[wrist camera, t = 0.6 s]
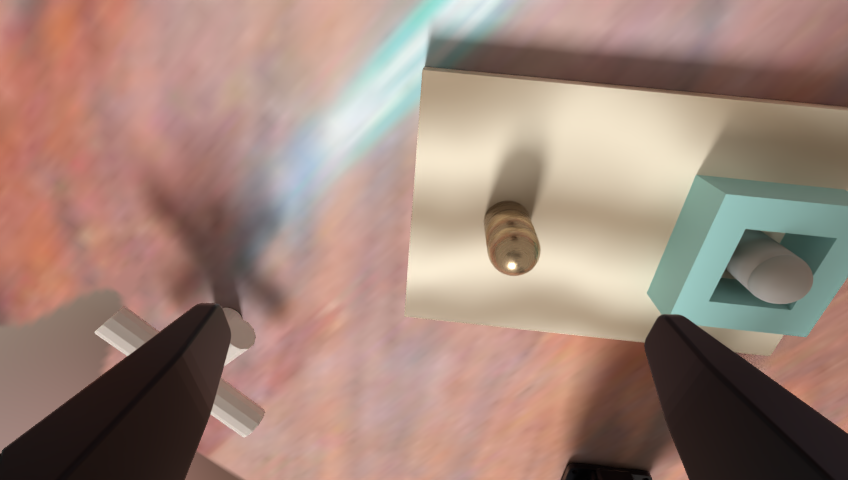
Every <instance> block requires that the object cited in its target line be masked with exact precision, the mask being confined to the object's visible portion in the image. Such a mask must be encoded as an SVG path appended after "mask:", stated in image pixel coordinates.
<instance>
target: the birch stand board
mask: <svg viewBox="0 0 848 480" xmlns="http://www.w3.org/2000/svg"><path fill="white" fill-rule="evenodd" d="M696 175H704V176H714V177H724V178H734V179H744V180H754V181H764V182H774V183H784V184H794V185H804V186H814V187H824V188H834V189H844V190H846V191H848V107H843V106H832V105H822V104H811V103H801V102H790V101H780V100H769V99H759V98H748V97H738V96H728V95H717V94H707V93H696V92H686V91H675V90H665V89H654V88H644V87H633V86H623V85H612V84H602V83H591V82H581V81H570V80H560V79H550V78H539V77H529V76H518V75H508V74H497V73H487V72H476V71H466V70H455V69H445V68H434V67H424V69H423V71H422V84H421V98H420V111H419V125H418V138H417V152H416V165H415V178H414V192H413V205H412V219H411V232H410V246H409V259H408V272H407V286H406V299H405V313H404V317H413V318H422V319H431V320H440V321H449V322H459V323H468V324H477V325H486V326H496V327H505V328H514V329H523V330H533V331H542V332H551V333H560V334H569V335H579V336H588V337H597V338H606V339H616V340H625V341H634V342H643V343H645V339H646V337H647V335H648V333H649V331H650V330H651V328H652V326H653V324H654V323H655V321H656V319H657V317H658V316H660V315H661V313H660V312H659V310H658V309H657V307H656V306H655V305H654V303H653V302H652V300H651V299H650V297H649V296H648V295H647V291H648V289H649V287H650V284H651V282H652V279H653V277H654V275H655V272H656V270H657V267H658V265H659V263H660V260H661V258H662V255H663V253H664V251H665V248H666V246H667V243H668V241H669V238H670V236H671V234H672V231H673V229H674V226H675V224H676V222H677V219H678V217H679V214H680V212H681V210H682V207H683V205H684V202H685V200H686V198H687V195H688V193H689V190H690V188H691V186H692V183H693V181H694V178H695V176H696ZM502 201H514V202H517V203H520V204H521V205H523V206H524V207H525V208H526V210H527V211H528V213H529V216H530V218H531V221H532V224H533V226H534V229H535V232H536V234H537V237H538V240H539V243H540V247H541V253H540V258H539V260H538V262H537V264H536V265H535V267H534V268H533V269H532V270H531V271H529V272H528V273H526V274H523V275H519V276H509V275H505V274H503V273H501V272H499V271H498V270H496V269H495V268H494V267H493V265H492V264H491V262H490V260H489V257H488V253H487V245H486V238H485V231H484V217H485V214H486V212H487V211H488V210H489V209H490V208H491V207H492V206H493V205H495V204H496V203H499V202H502ZM784 235H785V233H781V232H771V231H761V230H751V229H745V231H744V233H743V235H742V237H741V239H740V241H739V243H738V245H737V247H736V249H735V251H734V253H733V255H732V257H731V259H730V261H729V263H728V265H727V267H726V269H725V271H724V272H723V274H722V276H721V278H729V279H737V280H738V281H739V282H740V283H741V284H742V285H743V286H744V287H745V288H747V289H748V290H749V291H750V292H751V293H752V294H753V295H754V296H756V297H757V298H759V299H761V300H763V301H765V302H769V303H773V304H788V303H792V302H795V301H798V300H800V299H801V298H803V297H804V296H805V295H806V294H807V293H808V292H809V291H810V289H811V287H812V285H813V274H812V271H811V269H810V267H809V266H808V264H807V263H806V262H805V261H804V260H802V259H801V258H800V257H798V256H797V255H795V254H794V253H792V252H791V251H789V250H788V249H787V248H785V247H784V246H782V245H781V244H780V242H781V240H782V239H783V237H784ZM697 326H698V325H697ZM699 327H700V328H701V329H703V330H704V331H706V332H707V333H708V334H710V335H711V336H713V337H714V338H715V339H717V340H718V341H720V342H721V343H722V344H724V345H725V346H726V347H728V348H729V349H731V350H732V351H733V352H736V353H745V354H754V355H763V356H770V355H771V354H772V352H773V351H774V349H775V348H776V346H777V344H778V343H779V341H780V340H781V338H782V337H783V335H782V334H773V333H764V332H754V331H745V330H736V329H726V328H717V327H708V326H699Z"/></svg>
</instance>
